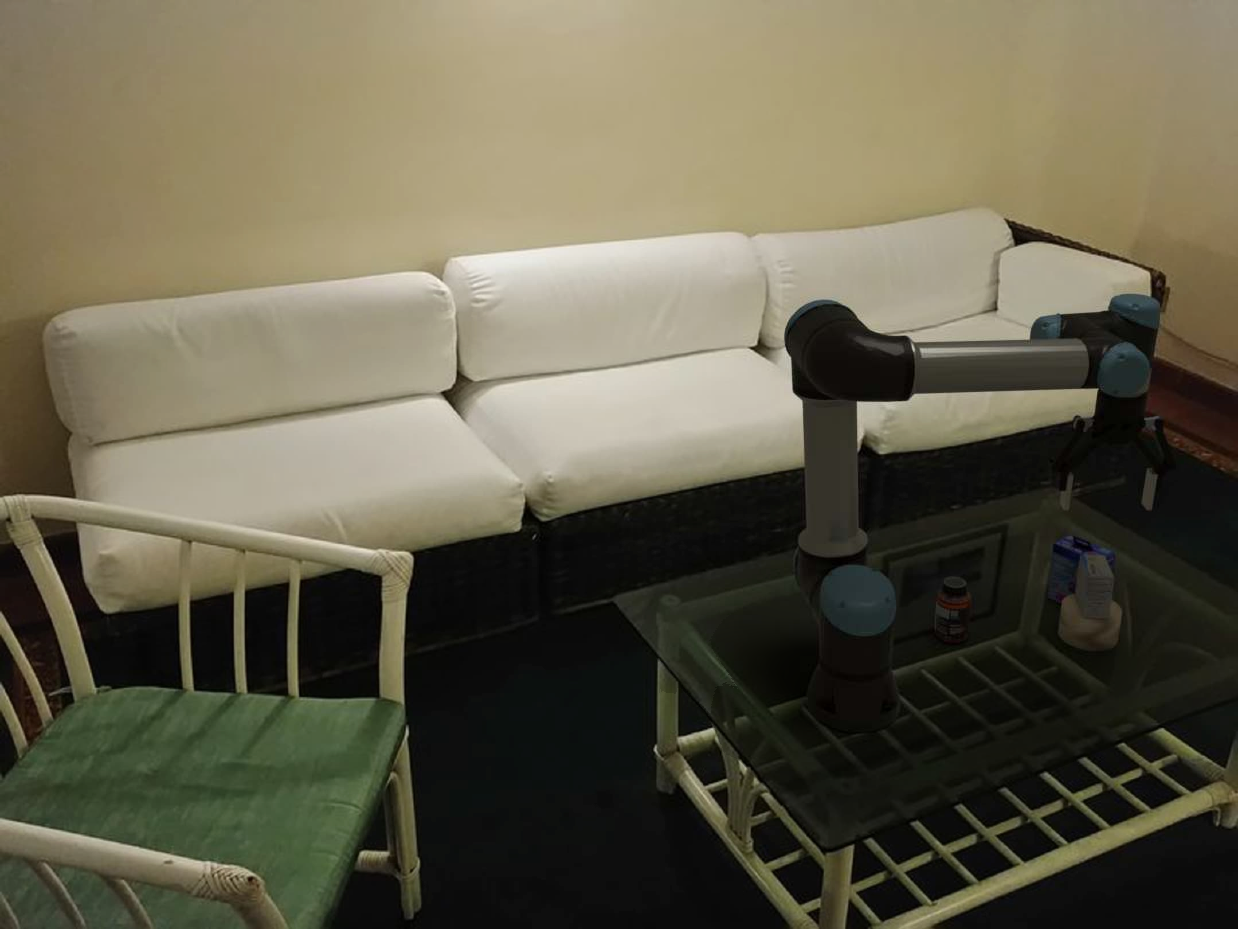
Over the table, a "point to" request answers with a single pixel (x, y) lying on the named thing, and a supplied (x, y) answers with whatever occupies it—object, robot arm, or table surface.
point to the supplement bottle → (953, 611)
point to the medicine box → (1094, 587)
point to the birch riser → (1088, 627)
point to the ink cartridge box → (1071, 564)
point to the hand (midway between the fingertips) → (1105, 507)
